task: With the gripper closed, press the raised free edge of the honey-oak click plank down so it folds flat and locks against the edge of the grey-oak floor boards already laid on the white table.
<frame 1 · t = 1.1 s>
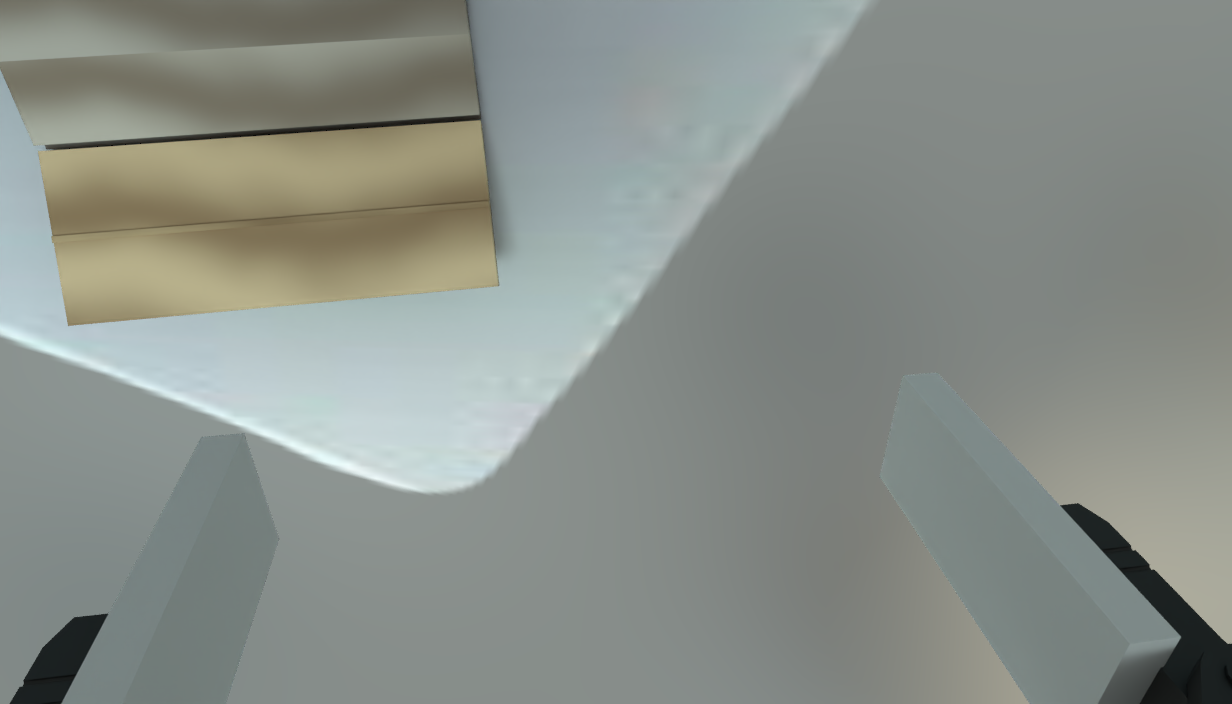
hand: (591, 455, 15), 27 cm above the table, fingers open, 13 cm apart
click plank: (281, 222, 36), point 2 cm above the table, hinge at 25.0°
laid floor: (247, 43, 34), on the table
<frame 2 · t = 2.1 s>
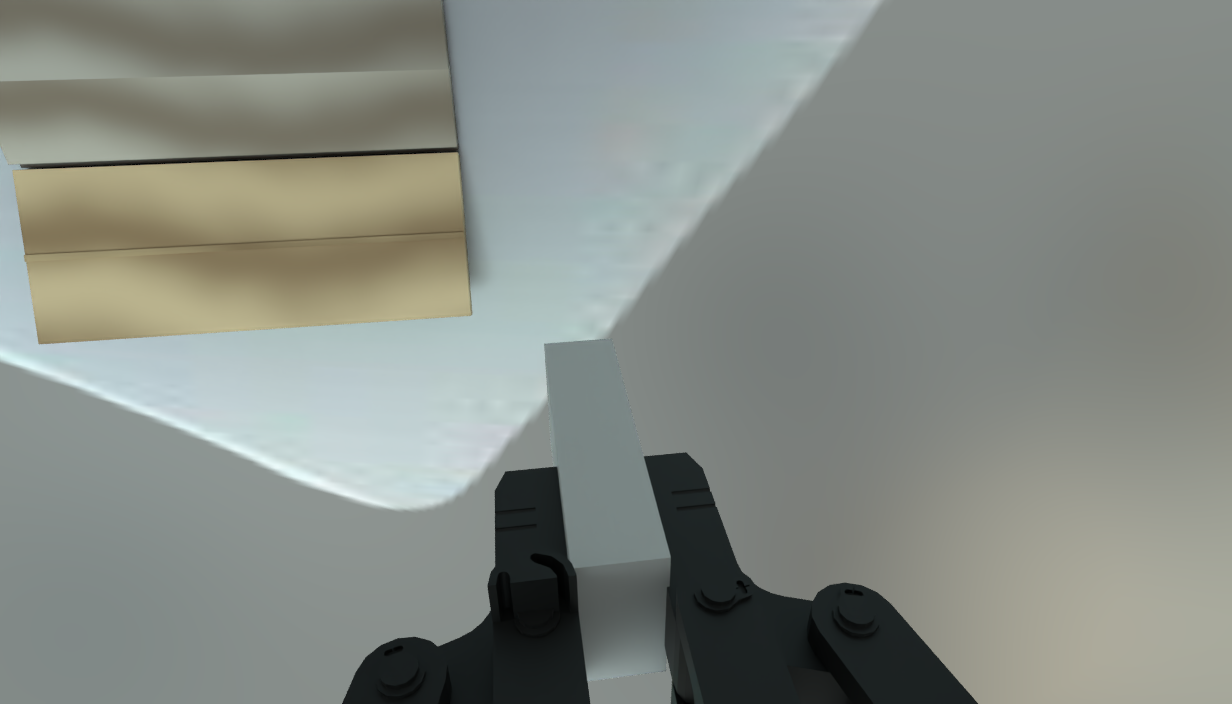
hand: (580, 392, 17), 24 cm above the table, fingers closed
click plank: (256, 246, 37), point 2 cm above the table, hinge at 25.0°
laid floor: (227, 69, 35), on the table
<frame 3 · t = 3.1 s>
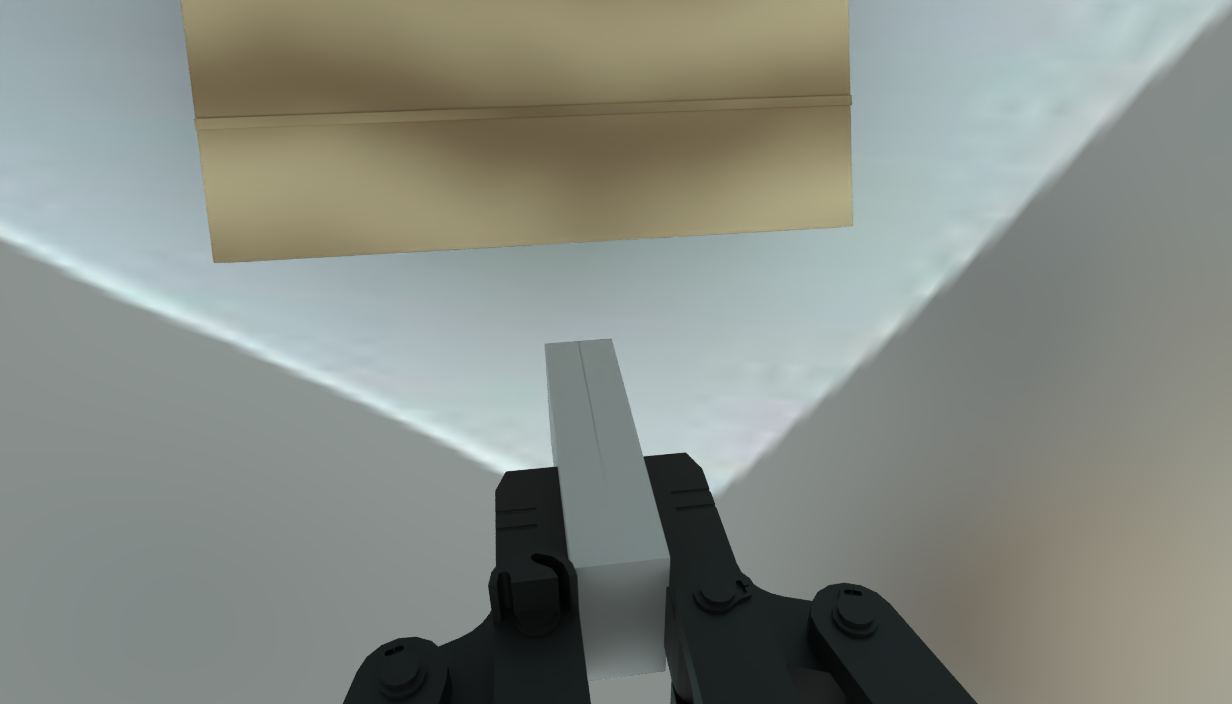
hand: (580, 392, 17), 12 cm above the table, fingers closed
click plank: (539, 115, 24), point 2 cm above the table, hinge at 25.0°
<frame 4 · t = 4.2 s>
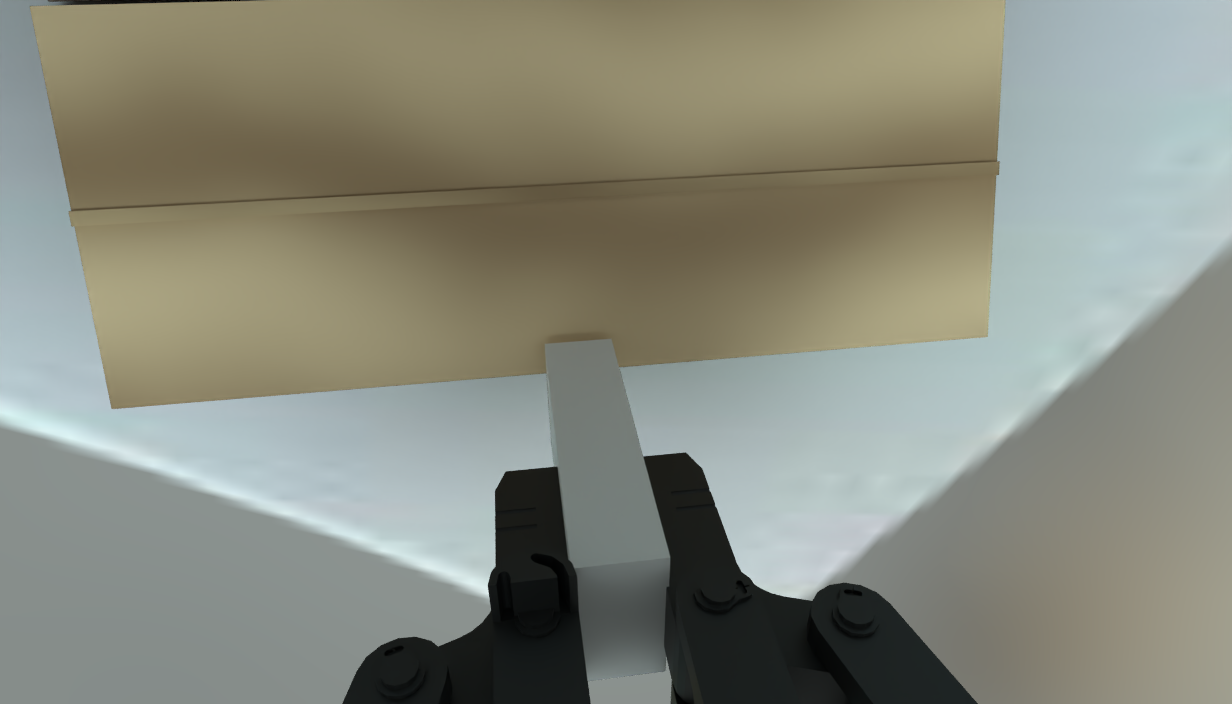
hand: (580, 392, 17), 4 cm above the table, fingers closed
click plank: (565, 191, 17), point 2 cm above the table, hinge at 20.5°, touching gripper
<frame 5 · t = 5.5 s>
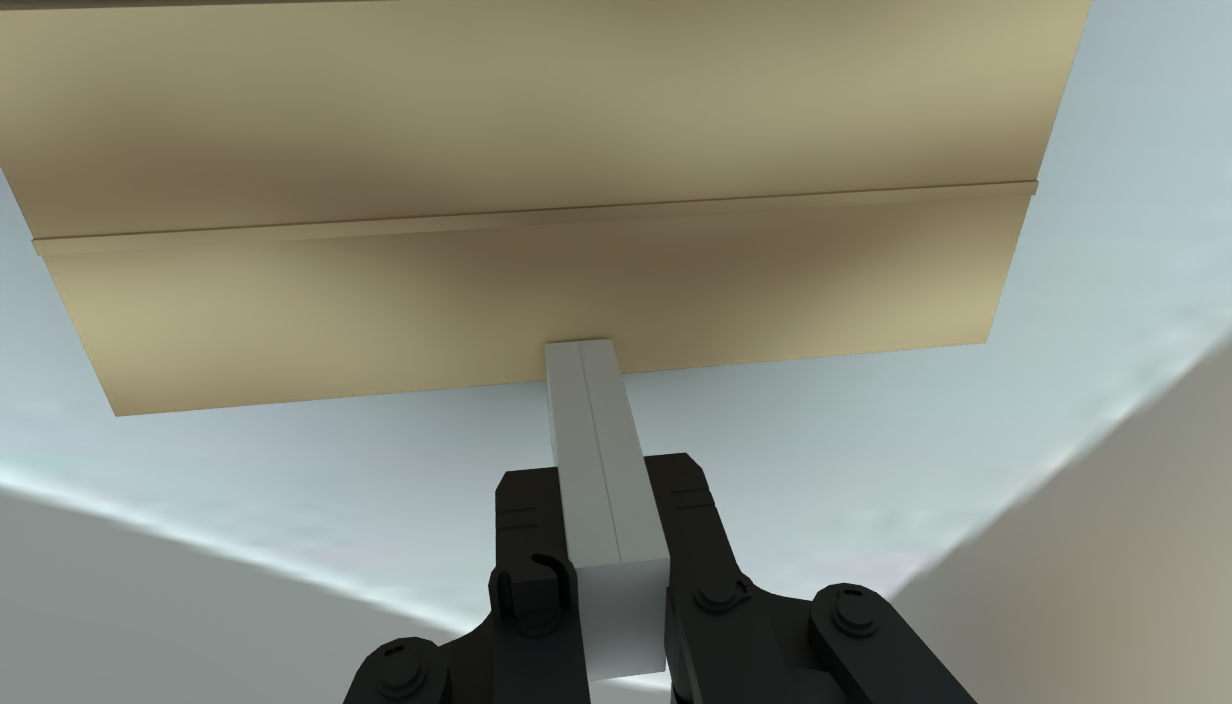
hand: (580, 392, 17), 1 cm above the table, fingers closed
click plank: (571, 203, 16), point 1 cm above the table, hinge at 0.7°, touching gripper
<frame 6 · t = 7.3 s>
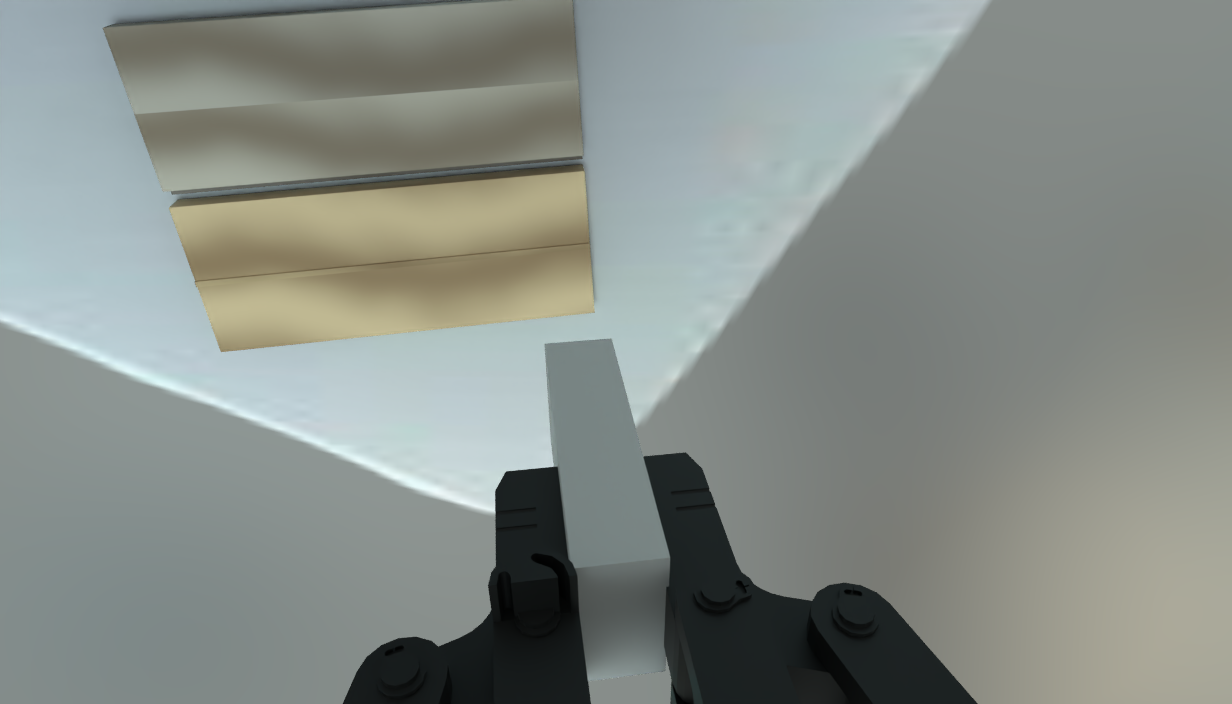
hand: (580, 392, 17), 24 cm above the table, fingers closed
click plank: (398, 259, 40), point 1 cm above the table, hinge at 0.6°
laid floor: (366, 91, 36), on the table
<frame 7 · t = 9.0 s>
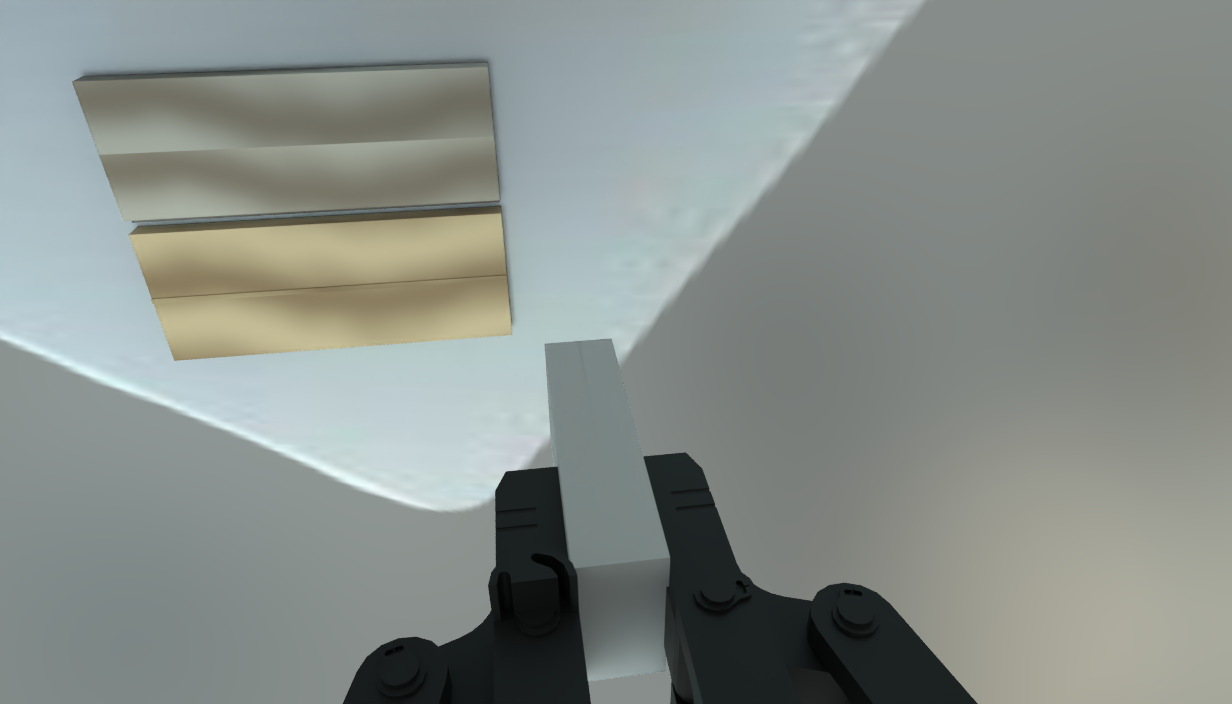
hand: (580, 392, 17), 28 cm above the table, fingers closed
click plank: (336, 284, 45), point 1 cm above the table, hinge at 0.6°
laid floor: (306, 139, 41), on the table
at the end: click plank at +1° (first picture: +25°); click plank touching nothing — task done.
